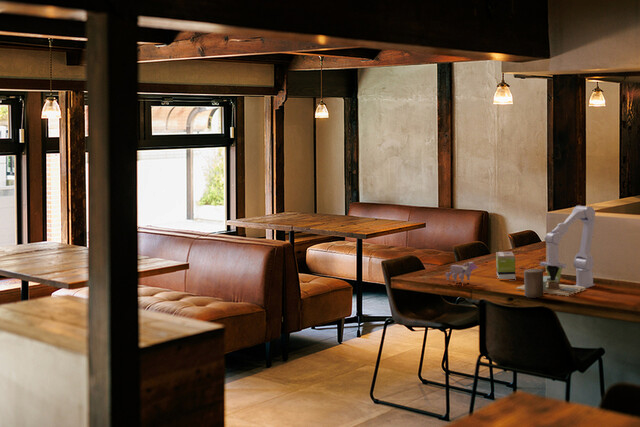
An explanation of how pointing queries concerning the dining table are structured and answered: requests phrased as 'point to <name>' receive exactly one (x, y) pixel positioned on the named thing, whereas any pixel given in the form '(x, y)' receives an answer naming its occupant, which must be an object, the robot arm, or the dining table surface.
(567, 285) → the puzzle board
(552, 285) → the walnut block
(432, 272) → the dining table surface
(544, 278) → the sled cover
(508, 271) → the tea box
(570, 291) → the slate pad
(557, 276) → the plant pot
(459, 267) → the toy sheep
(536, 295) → the pillar candle
